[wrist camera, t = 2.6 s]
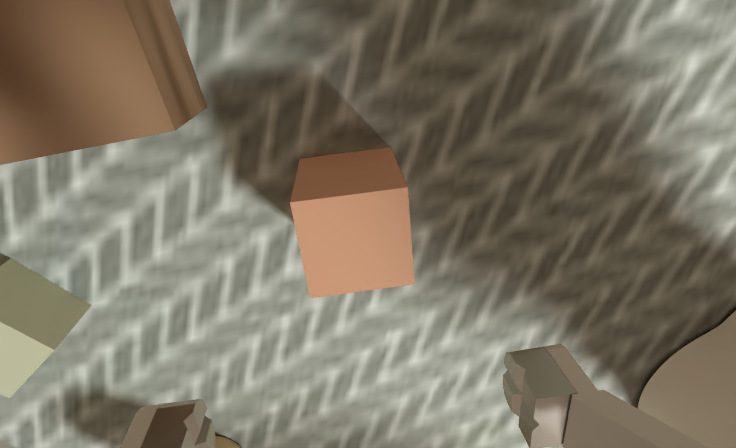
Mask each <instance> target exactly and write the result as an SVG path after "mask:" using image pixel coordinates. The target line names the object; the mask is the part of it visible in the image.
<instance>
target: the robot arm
mask: <svg viewBox="0 0 736 448" xmlns="http://www.w3.org/2000/svg"><path fill="white" fill-rule="evenodd" d="M504 364H505V366H506V368H507V371H506V373H505V374H504V375H503V388H504V394H505V397H506V400H507V403H508V405H509V407H510V409H511V411H512V412H513V413H515V414H516V415H518V416H519V428H520V430H521V432H522V434H523V436H524V438H525V440H526V442H527V444H528V446H529V448H542V447H550V446H557V445H563V447H564V448H736V311H734V312H733V313H732V314H731V315H730V316H729V317H728V318H727V319H726V320H725V321H724V322H723V323H722V324H721V325H719V326H718V327H716V328H715V329H713V330H711V331H710V332H708V333H706V334H704V335H703V336H701V337H699V338H697V339H696V340H694V341H692V342H691V343H689V344H687V345H686V346H684V347H683V348H682V349H680V350H679V351H678V352H676V353H675V354H674V355H673V356H671V357H670V358H669V359H668V360H667V361H666V362H665V363H664V364H663V365H662V366H661V367H660V368H659V369H658V370H657V371H656V372H655V373H654V375H653V376H652V377H651V378H650V380H649V381H648V383H647V384H646V386H645V388H644V390H643V392H642V394H641V396H640V400H639V403H638V409H637V408H636V407H634V406H632V405H630V404H628V403H626V402H625V401H623V400H621V399H619V398H617V397H616V396H614V395H612V394H610V393H608V392H607V391H605V390H600V391H598V390H597V388H596V387H595V386H594V384H593V383H592V382H591V381H590V379H589V378H588V377H587V375H586V374H585V373H584V371H583V370H582V369H581V367H580V366H579V365H578V363H577V362H576V361H575V360H574V358H573V357H572V356H571V354H570V353H569V352H568V350H567V349H566V348H565V346H563V345H561V344H557V345H551V346H544V347H537V348H531V349H525V350H519V351H513V352H507V353H506V354H505V357H504ZM206 409H207V407H206V405H205V403H204V401H203V400H202V399H197V400H189V401H181V402H172V403H164V404H159V405H151V406H143V407H141V408H140V409H139V410H138V411H137V412H136V414H135V416H134V419H133V421H132V423H131V425H130V427H129V429H128V431H127V433H126V435H125V437H124V440H123V442H122V444H121V446H120V448H215V430H214V425H213V423H212V420H211V419H209V418H207V417H206V416H205V413H206Z"/></svg>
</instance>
